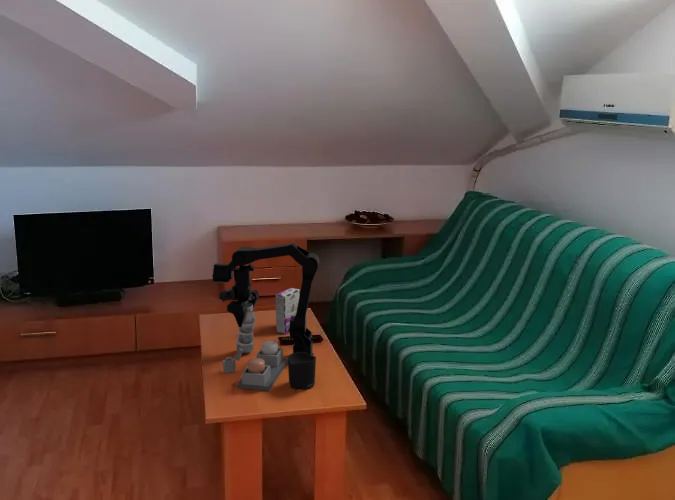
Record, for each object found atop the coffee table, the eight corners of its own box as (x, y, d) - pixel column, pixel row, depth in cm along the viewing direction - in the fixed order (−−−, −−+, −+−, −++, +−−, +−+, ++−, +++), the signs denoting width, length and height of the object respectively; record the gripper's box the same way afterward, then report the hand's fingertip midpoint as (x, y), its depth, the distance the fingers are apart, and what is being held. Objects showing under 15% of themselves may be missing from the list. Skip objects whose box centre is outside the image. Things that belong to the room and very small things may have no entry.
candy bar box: (291, 324, 287) (290, 287, 283) (300, 326, 285) (300, 289, 281) (275, 332, 278) (274, 294, 274) (285, 334, 275) (284, 296, 271)
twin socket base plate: (287, 362, 248) (287, 348, 247) (269, 391, 225) (268, 375, 224) (258, 360, 250) (258, 346, 249) (237, 388, 227) (236, 372, 226)
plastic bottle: (250, 357, 254) (253, 310, 245) (232, 353, 255) (236, 306, 246) (255, 348, 259) (259, 302, 251) (238, 344, 260) (242, 299, 252)
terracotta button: (266, 370, 231) (266, 359, 230) (262, 376, 226) (261, 365, 225) (251, 368, 232) (250, 357, 231) (245, 375, 227) (245, 364, 226)
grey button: (279, 352, 247) (279, 341, 246) (275, 358, 241) (275, 347, 240) (264, 350, 248) (264, 340, 247) (260, 356, 242) (259, 346, 241)
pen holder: (288, 391, 225) (288, 363, 223) (287, 379, 234) (287, 352, 232) (316, 390, 226) (317, 362, 224) (314, 378, 235) (314, 351, 233)
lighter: (224, 373, 238) (223, 352, 237) (223, 371, 240) (222, 350, 238) (243, 369, 242) (243, 348, 240) (242, 368, 243) (241, 347, 241)
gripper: (230, 274, 257) (232, 313, 261) (211, 288, 240) (214, 330, 243) (258, 275, 255) (260, 314, 259) (241, 290, 237) (243, 332, 241)
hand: (244, 322), depth 251 cm, fingers open, 9 cm apart
